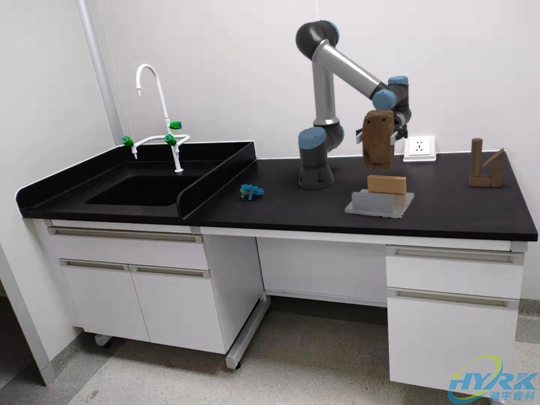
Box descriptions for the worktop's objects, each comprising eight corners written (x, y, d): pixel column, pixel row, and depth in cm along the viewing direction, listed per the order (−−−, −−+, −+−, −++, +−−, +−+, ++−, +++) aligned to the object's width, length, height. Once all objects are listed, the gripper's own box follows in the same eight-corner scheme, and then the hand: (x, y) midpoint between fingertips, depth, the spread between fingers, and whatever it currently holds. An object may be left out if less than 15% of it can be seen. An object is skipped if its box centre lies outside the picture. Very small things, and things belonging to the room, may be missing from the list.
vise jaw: (367, 191, 162) (367, 177, 159) (370, 188, 164) (369, 174, 161) (404, 194, 154) (404, 179, 152) (406, 191, 156) (406, 177, 154)
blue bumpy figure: (269, 192, 175) (254, 182, 168) (265, 205, 174) (250, 196, 166) (249, 192, 182) (234, 183, 175) (246, 204, 181) (231, 196, 173)
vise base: (344, 212, 151) (343, 193, 148) (362, 192, 165) (361, 174, 162) (400, 218, 141) (400, 198, 138) (414, 196, 155) (414, 178, 152)
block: (395, 164, 148) (395, 108, 140) (392, 171, 142) (391, 113, 134) (365, 163, 152) (362, 109, 144) (361, 171, 146) (358, 114, 138)
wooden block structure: (501, 187, 152) (505, 140, 145) (468, 186, 157) (471, 140, 150) (500, 183, 155) (504, 137, 148) (468, 183, 160) (471, 137, 153)
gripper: (424, 133, 152) (409, 152, 135) (362, 133, 164) (342, 150, 147) (425, 113, 149) (409, 130, 132) (361, 114, 161) (340, 129, 144)
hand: (374, 140), depth 139 cm, fingers closed on block, 11 cm apart
